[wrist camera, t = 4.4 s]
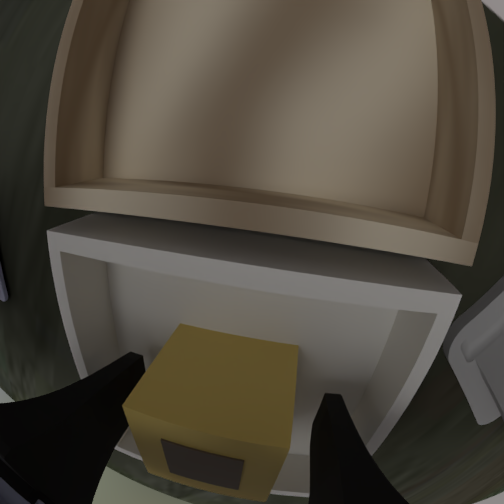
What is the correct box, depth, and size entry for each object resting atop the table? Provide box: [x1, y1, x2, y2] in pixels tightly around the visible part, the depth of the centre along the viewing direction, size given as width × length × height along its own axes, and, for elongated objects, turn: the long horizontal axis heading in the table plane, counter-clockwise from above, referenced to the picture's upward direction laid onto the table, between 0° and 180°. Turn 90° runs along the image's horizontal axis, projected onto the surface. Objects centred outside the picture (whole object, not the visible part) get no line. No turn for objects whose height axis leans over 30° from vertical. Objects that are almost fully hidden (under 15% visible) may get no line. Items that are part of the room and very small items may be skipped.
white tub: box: [47, 211, 462, 497], centre depth 10 cm, size 12×12×3 cm
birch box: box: [44, 0, 496, 266], centre depth 6 cm, size 12×12×3 cm
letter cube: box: [122, 323, 299, 502], centre depth 9 cm, size 4×4×5 cm
